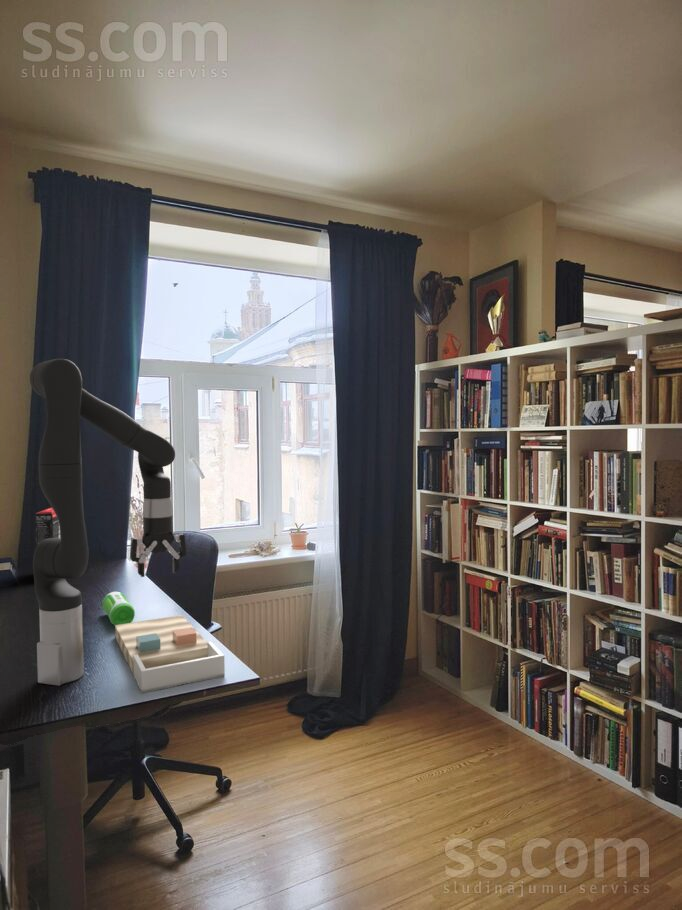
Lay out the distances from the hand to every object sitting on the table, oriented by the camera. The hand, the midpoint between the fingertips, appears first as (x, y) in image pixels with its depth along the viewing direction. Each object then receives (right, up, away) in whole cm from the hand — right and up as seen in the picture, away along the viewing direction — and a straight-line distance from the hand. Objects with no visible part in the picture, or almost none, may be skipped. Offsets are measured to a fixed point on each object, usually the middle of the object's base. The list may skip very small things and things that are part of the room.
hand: (158, 574), depth 160 cm
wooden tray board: (0, -20, 0) cm, 20 cm away
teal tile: (0, -17, -9) cm, 19 cm away
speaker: (-20, -19, +24) cm, 37 cm away
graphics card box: (-68, -17, +80) cm, 106 cm away
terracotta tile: (+8, -17, -4) cm, 19 cm away
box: (+10, -21, -17) cm, 29 cm away
